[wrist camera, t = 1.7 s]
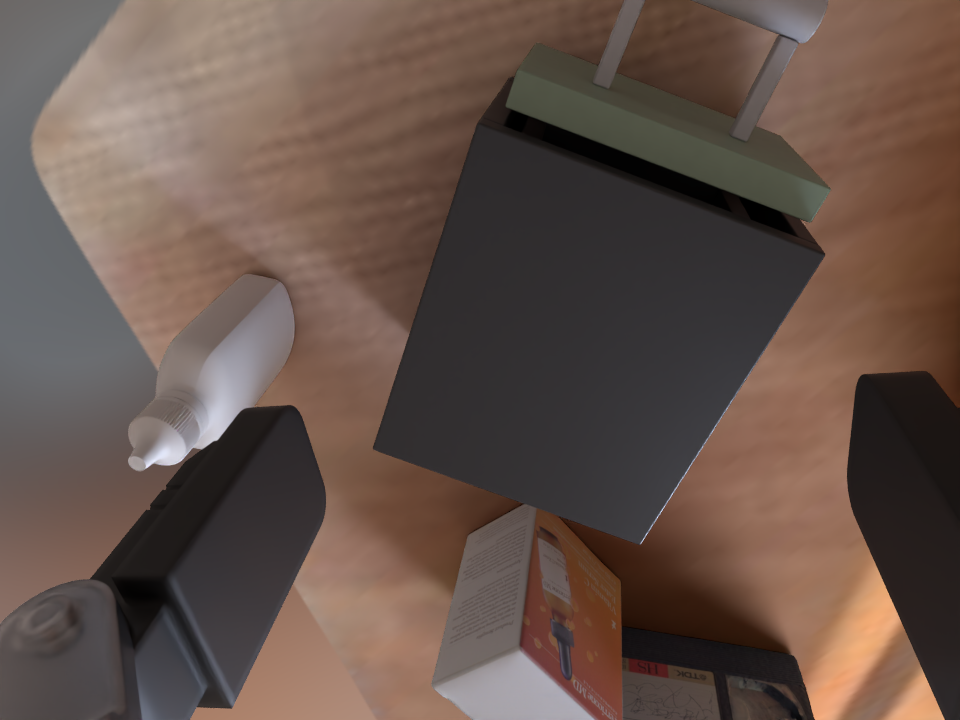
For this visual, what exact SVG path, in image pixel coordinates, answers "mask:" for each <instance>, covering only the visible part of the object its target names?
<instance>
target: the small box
mask: <svg viewBox="0 0 960 720" xmlns="http://www.w3.org/2000/svg"><path fill="white" fill-rule="evenodd" d="M432 687H433V689H434V690H435V691H437V692H438V693H439V694H440V695H442V696H443V697H444V698H447V699H448V700H449V701H451V702H452V703H453V704H454V705H456V706H457V707H458V708H459V709H460V710H461V711H463V712H464V713H465V714H466V715H467V716H469V717H470V718H471V719H472V720H622V625H621V582H620V580H619V579H618V578H617V577H616V576H615V575H614V574H613V573H612V572H611V571H610V570H609V569H608V568H607V567H606V566H605V565H604V564H603V563H602V562H601V561H600V560H599V559H598V558H597V557H596V556H595V555H594V554H593V553H592V552H591V551H590V550H589V549H588V548H587V547H586V546H585V544H584V543H583V542H582V541H581V540H580V539H579V538H578V537H577V536H576V535H575V534H574V533H573V532H572V531H571V530H570V529H569V527H568V526H567V525H566V524H565V523H564V522H563V521H562V520H561V519H560V518H559V517H558V516H557V515H555V514H552V513H549V512H546V511H543V510H541V509H538V508H535V507H532V506H529V505H527V504H523V505H522V506H520V507H518V508H516V509H514V510H512V511H510V512H509V513H507V514H505V515H503V516H501V517H500V518H498V519H496V520H494V521H492V522H491V523H489V524H487V525H485V526H483V527H482V528H480V529H478V530H476V531H474V532H473V533H471V534H469V535H468V537H467V541H466V545H465V549H464V553H463V558H462V562H461V566H460V570H459V574H458V578H457V582H456V586H455V590H454V594H453V598H452V602H451V606H450V610H449V614H448V619H447V622H446V627H445V631H444V635H443V639H442V643H441V647H440V652H439V655H438V660H437V664H436V668H435V672H434V676H433V680H432Z"/></svg>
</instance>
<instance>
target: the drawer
mask: <svg viewBox="0 0 960 720" xmlns="http://www.w3.org/2000/svg"><path fill="white" fill-rule="evenodd" d="M692 1H694V2H697V3H699V4H702V5H705V6H707V7H710V8H712V9H715V10H717V11H720V12H723V13H725V14H728V15H730V16H733V17H735V18H738V19H740V20H743V21H746V22H748V23H751V24H753V25H756V26H758V27H761V28H764V29H766V30H769V31H771V32H774V33H776V34H779V35H778V36H777V38H776V40H775V42H774V44H773V46H772V48H771V50H770V52H769V54H768V56H767V58H766V60H765V62H764V64H763V66H762V68H761V70H760V72H759V74H758V76H757V78H756V79H755V81H754V83H753V85H752V87H751V89H750V91H749V93H748V95H747V97H746V99H745V101H744V103H743V105H742V107H741V109H740V111H739V113H738V115H737V117H736V119H735V118H733V117H730V116H728V115H725V114H722V113H720V112H717V111H715V110H712V109H709V108H707V107H704V106H702V105H699V104H696V103H694V102H691V101H689V100H686V99H683V98H681V97H678V96H676V95H673V94H670V93H668V92H665V91H663V90H660V89H657V88H655V87H652V86H650V85H647V84H644V83H642V82H639V81H637V80H634V79H631V78H629V77H626V76H623V75H621V74H618V73H616V71H617V69H618V66H619V64H620V61H621V59H622V56H623V54H624V51H625V49H626V46H627V44H628V42H629V39H630V37H631V34H632V32H633V29H634V27H635V24H636V22H637V20H638V17H639V15H640V12H641V10H642V7H643V5H644V2H645V0H624V2H623V5H622V7H621V10H620V12H619V15H618V17H617V20H616V22H615V25H614V27H613V30H612V32H611V35H610V38H609V40H608V43H607V45H606V48H605V50H604V53H603V55H602V58H601V60H600V63H599V66H597V65H595V64H592V63H590V62H587V61H584V60H582V59H579V58H577V57H574V56H571V55H569V54H566V53H564V52H561V51H558V50H556V49H553V48H551V47H548V46H545V45H543V44H540V43H538V42H537V43H536V44H535V45H534V46H533V48H532V49H531V51H530V52H529V54H528V55H527V57H526V58H525V60H524V61H523V63H522V64H521V66H520V67H519V68H518V70H517V72H516V75H515V78H514V81H513V84H512V87H511V90H510V93H509V96H508V99H507V102H506V107H507V108H509V109H512V110H514V111H517V112H519V113H522V114H525V115H527V116H528V118H527V121H526V123H525V125H524V128H523V130H522V132H521V133H524V134H526V135H529V136H532V137H534V138H537V139H539V140H542V141H545V142H547V143H550V144H553V145H555V146H558V147H561V148H563V149H566V150H568V151H571V152H574V153H576V154H579V155H582V156H584V157H587V158H590V159H592V160H595V161H597V162H600V163H603V164H605V165H608V166H611V167H613V168H616V169H619V170H621V171H624V172H627V173H629V174H632V175H634V176H637V177H640V178H642V179H645V180H648V181H650V182H653V183H656V184H658V185H661V186H663V187H666V188H669V189H671V190H674V191H677V192H679V193H682V194H685V195H687V196H690V197H693V198H695V199H698V200H700V201H703V202H706V203H708V204H711V205H714V206H716V207H719V208H722V209H724V210H727V211H729V212H732V213H735V214H737V215H740V216H743V217H745V218H748V219H750V217H749V215H748V214H747V212H746V210H745V208H744V206H743V204H742V203H741V201H740V199H739V197H738V196H740V197H743V198H746V199H748V200H751V201H754V202H756V203H759V204H762V205H764V206H767V207H769V208H772V209H775V210H777V211H780V212H783V213H785V214H788V215H790V216H793V217H796V218H798V219H801V220H804V221H806V222H811V221H812V220H813V218H814V217H815V215H816V213H817V212H818V210H819V208H820V207H821V205H822V203H823V202H824V200H825V199H826V197H827V195H828V194H829V192H830V190H831V188H830V187H829V186H828V185H827V184H826V183H825V182H824V181H823V180H822V179H821V178H820V177H819V176H818V175H817V174H816V173H815V172H814V171H813V169H812V168H811V167H810V166H809V165H808V164H807V163H806V162H805V161H804V160H803V159H802V158H801V157H800V156H799V155H798V154H797V153H796V152H795V151H794V150H793V149H792V147H791V146H790V145H789V144H788V143H787V142H786V141H785V140H784V139H783V138H782V137H781V136H780V135H777V134H774V133H772V132H769V131H767V130H764V129H761V128H759V127H756V124H757V122H758V120H759V118H760V116H761V114H762V112H763V110H764V108H765V107H766V105H767V103H768V101H769V99H770V97H771V95H772V93H773V91H774V89H775V88H776V86H777V84H778V82H779V80H780V78H781V76H782V74H783V72H784V70H785V69H786V67H787V65H788V63H789V61H790V59H791V57H792V55H793V53H794V51H795V50H796V48H797V46H798V42H799V43H805V42H807V41H808V40H809V39H810V38H811V37H812V36H813V34H814V33H815V31H816V30H817V28H818V27H819V25H820V23H821V21H822V19H823V17H824V15H825V12H826V9H827V6H828V0H692ZM737 195H738V196H737Z"/></svg>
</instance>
